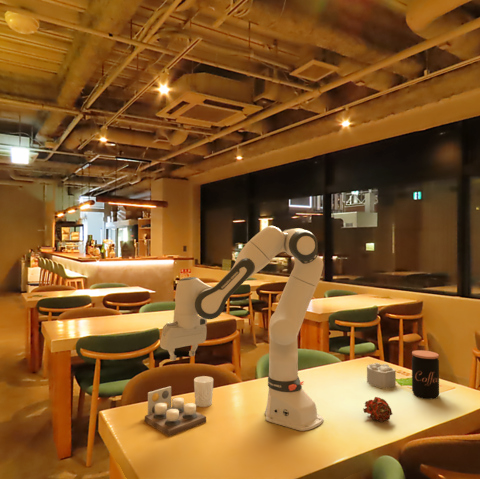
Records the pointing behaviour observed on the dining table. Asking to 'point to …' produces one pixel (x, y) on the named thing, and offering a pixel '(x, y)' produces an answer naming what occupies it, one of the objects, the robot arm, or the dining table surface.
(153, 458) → the dining table surface
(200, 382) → the white cup
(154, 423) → the board
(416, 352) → the coffee jar
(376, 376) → the grey toy brick
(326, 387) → the dining table surface
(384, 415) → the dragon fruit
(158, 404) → the button
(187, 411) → the button
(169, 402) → the card
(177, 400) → the button
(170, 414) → the button
